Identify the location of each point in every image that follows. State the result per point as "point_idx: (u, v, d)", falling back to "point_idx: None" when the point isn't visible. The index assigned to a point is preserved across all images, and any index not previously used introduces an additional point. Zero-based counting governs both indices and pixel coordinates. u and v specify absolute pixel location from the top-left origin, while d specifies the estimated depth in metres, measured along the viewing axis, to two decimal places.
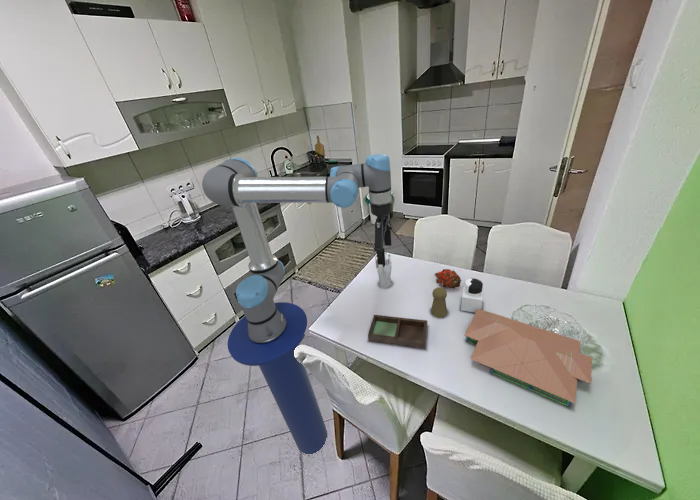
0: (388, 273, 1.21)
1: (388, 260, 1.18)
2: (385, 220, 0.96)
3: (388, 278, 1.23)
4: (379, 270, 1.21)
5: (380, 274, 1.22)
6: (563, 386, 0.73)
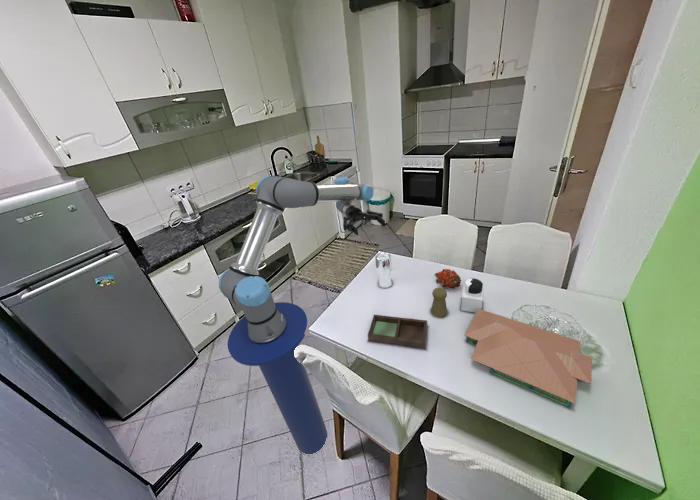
0: (388, 273, 1.21)
1: (388, 260, 1.18)
2: None
3: (388, 278, 1.23)
4: (379, 270, 1.21)
5: (380, 274, 1.22)
6: (563, 385, 0.73)
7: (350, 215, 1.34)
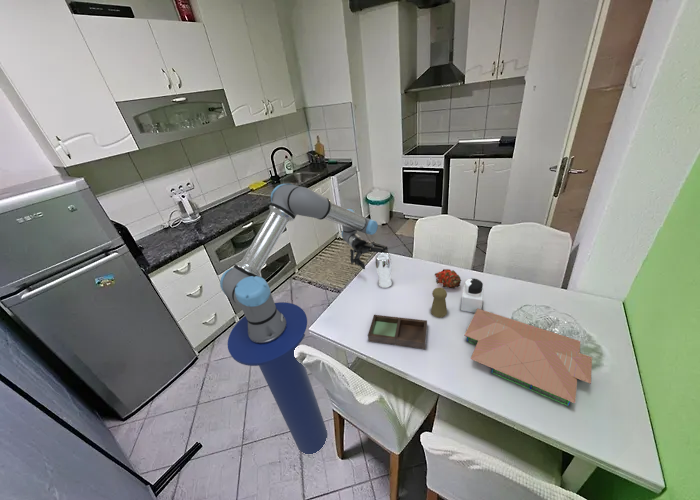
0: (388, 273, 1.21)
1: (388, 260, 1.18)
2: None
3: (388, 278, 1.23)
4: (379, 270, 1.21)
5: (380, 274, 1.22)
6: (563, 385, 0.73)
7: (356, 247, 1.41)
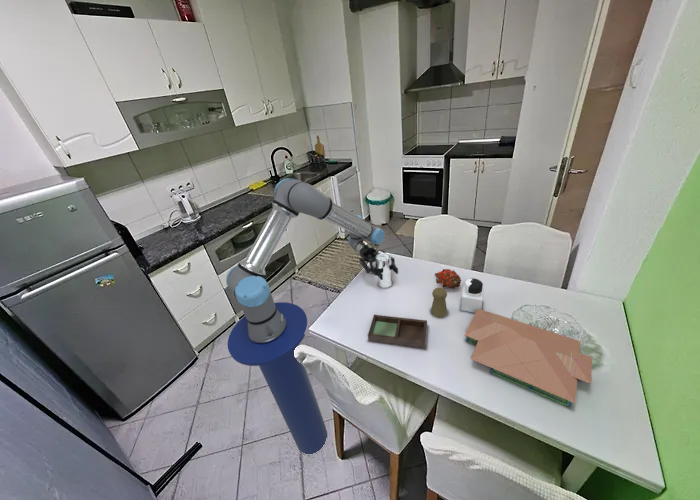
0: (388, 273, 1.21)
1: (388, 260, 1.18)
2: None
3: (388, 278, 1.23)
4: (379, 270, 1.21)
5: None
6: (563, 385, 0.73)
7: (365, 256, 1.33)
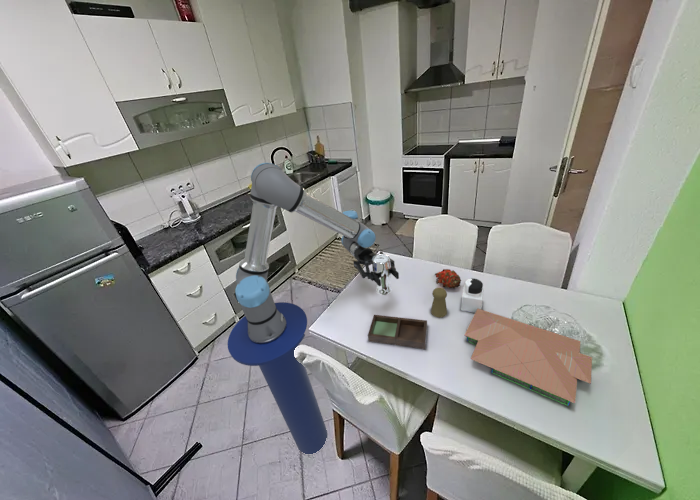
0: (387, 278, 1.03)
1: (387, 263, 1.00)
2: None
3: (387, 284, 1.05)
4: (376, 275, 1.03)
5: None
6: (563, 385, 0.73)
7: (360, 257, 1.14)
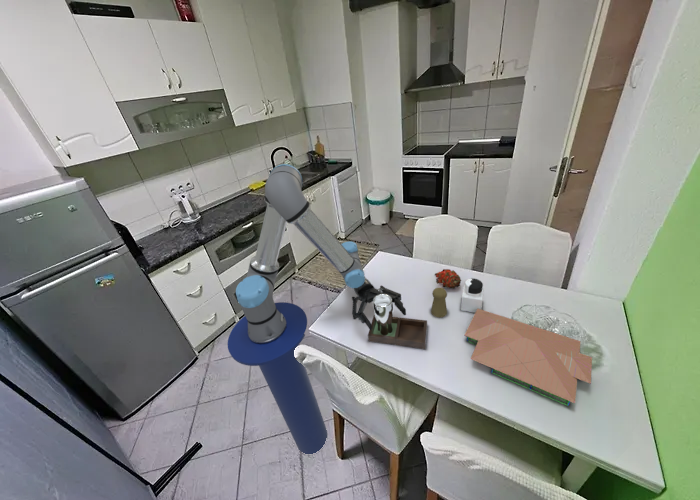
0: (389, 320, 0.96)
1: (389, 305, 0.93)
2: None
3: (389, 326, 0.98)
4: (378, 317, 0.96)
5: (378, 321, 0.97)
6: (563, 385, 0.73)
7: (360, 294, 1.08)
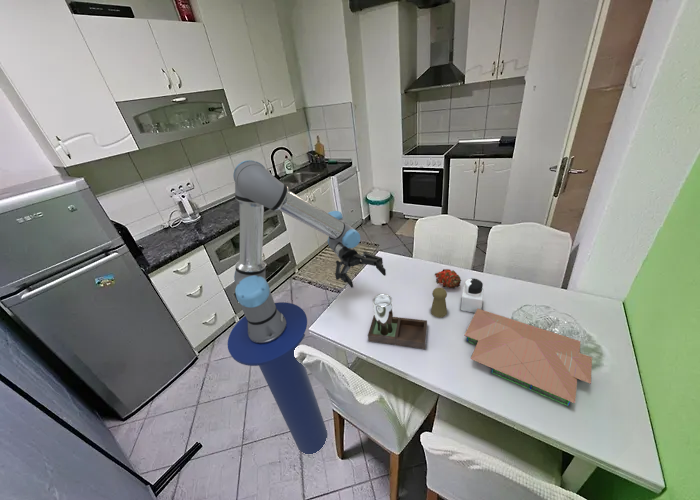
0: (389, 320, 0.96)
1: (389, 305, 0.93)
2: None
3: (389, 326, 0.98)
4: (378, 317, 0.96)
5: (378, 321, 0.97)
6: (563, 385, 0.73)
7: (344, 258, 1.13)
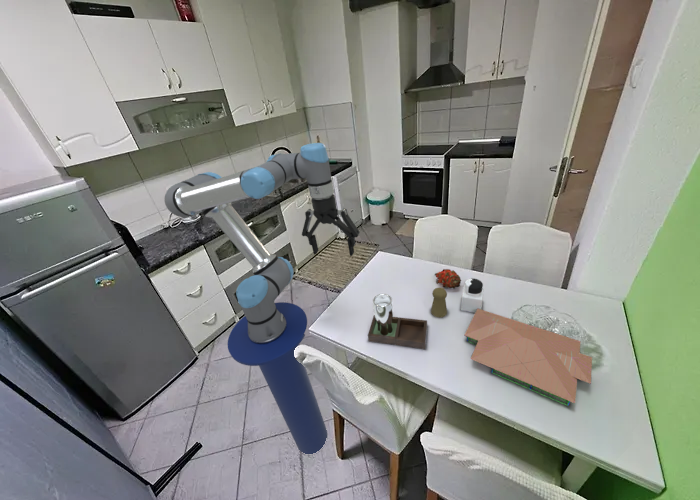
0: (389, 320, 0.96)
1: (389, 305, 0.93)
2: (319, 215, 0.89)
3: (389, 326, 0.98)
4: (378, 317, 0.96)
5: (378, 321, 0.97)
6: (563, 385, 0.73)
7: None
